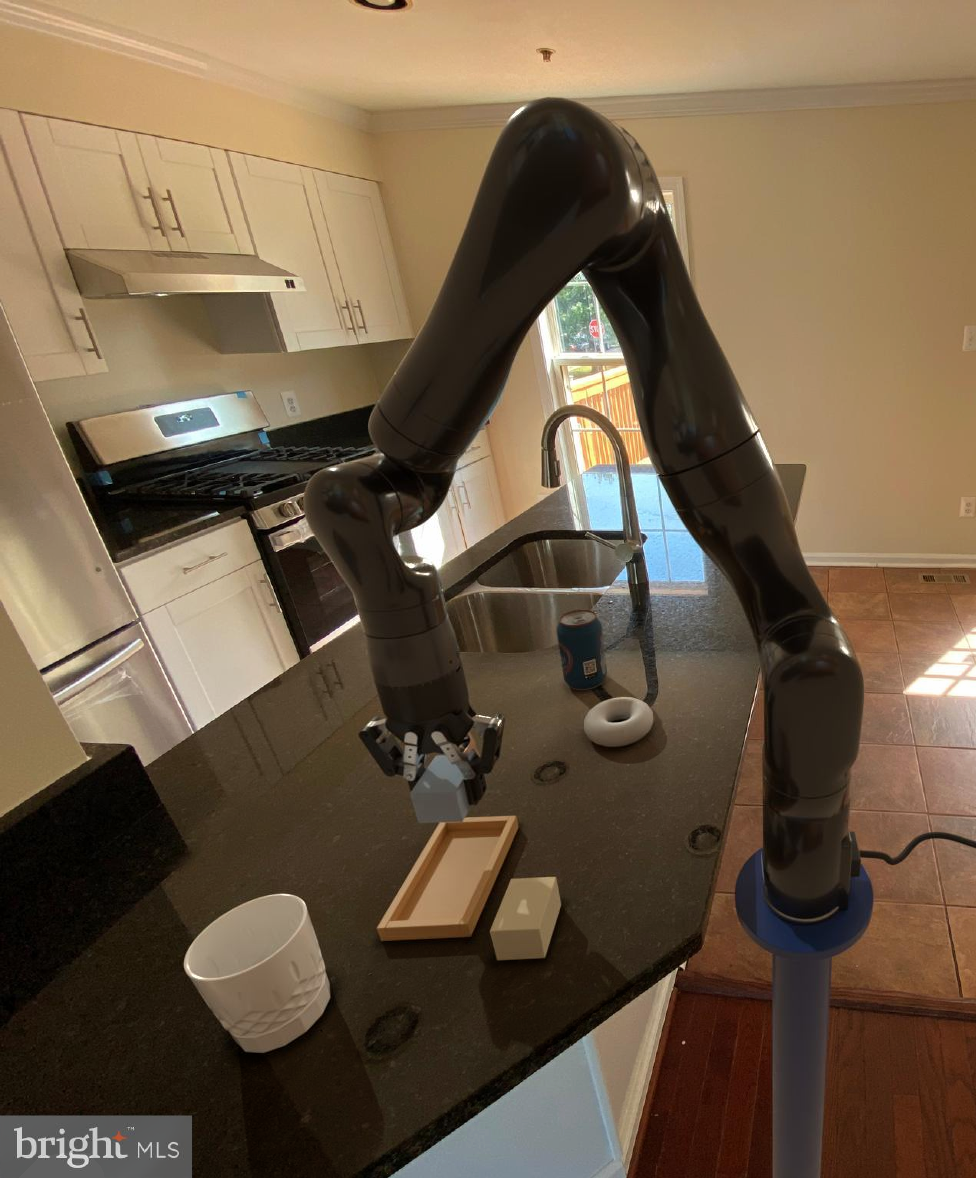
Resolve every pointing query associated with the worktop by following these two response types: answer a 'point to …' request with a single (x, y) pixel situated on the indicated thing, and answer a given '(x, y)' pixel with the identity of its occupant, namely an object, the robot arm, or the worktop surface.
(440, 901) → the frame
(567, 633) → the soda can
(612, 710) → the donut
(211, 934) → the white cup
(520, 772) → the worktop surface
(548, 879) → the pad
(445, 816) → the pad
